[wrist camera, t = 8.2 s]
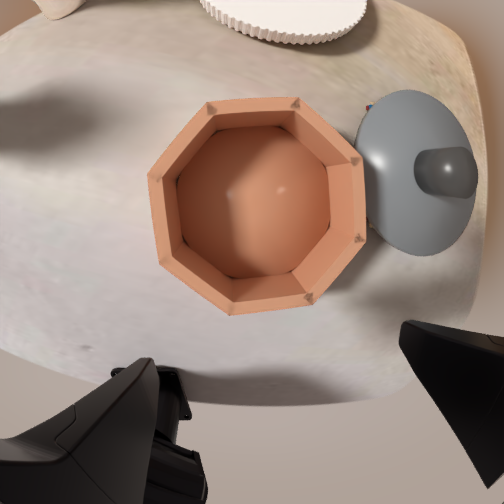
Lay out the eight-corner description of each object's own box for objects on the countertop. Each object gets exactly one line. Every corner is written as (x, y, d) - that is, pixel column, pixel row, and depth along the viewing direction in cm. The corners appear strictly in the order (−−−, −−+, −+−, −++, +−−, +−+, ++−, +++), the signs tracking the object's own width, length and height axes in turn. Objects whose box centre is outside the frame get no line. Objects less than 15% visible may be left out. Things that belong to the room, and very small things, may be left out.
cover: (471, 241, 20) (506, 253, 16) (360, 267, 20) (393, 289, 15) (459, 103, 17) (494, 95, 12) (338, 85, 16) (369, 61, 12)
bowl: (338, 274, 21) (364, 295, 16) (181, 293, 20) (170, 320, 15) (329, 116, 18) (355, 100, 13) (161, 128, 17) (143, 112, 13)
